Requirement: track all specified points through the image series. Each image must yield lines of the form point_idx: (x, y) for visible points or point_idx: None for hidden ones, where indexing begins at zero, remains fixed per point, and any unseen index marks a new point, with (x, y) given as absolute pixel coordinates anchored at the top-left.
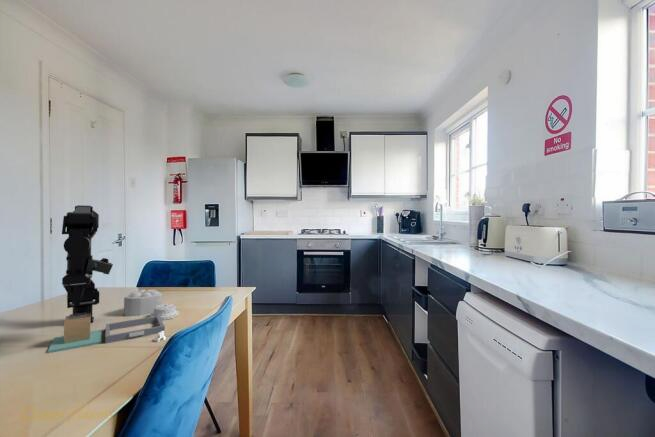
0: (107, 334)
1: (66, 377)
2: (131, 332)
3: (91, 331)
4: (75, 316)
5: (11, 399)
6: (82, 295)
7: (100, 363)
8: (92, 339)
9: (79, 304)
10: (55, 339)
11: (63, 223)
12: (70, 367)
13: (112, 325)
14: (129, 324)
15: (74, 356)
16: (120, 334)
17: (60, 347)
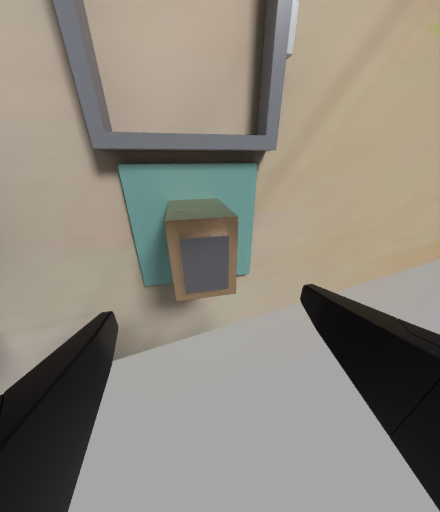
0: (255, 142)
1: (398, 216)
2: (288, 39)
3: (127, 199)
4: (228, 269)
5: (402, 267)
6: (100, 329)
7: (393, 161)
8: (225, 189)
9: (317, 286)
10: (165, 279)
11: None
12: (361, 216)
13: (104, 118)
14: (84, 23)
15: (308, 218)
16: (281, 93)
17: (243, 255)
